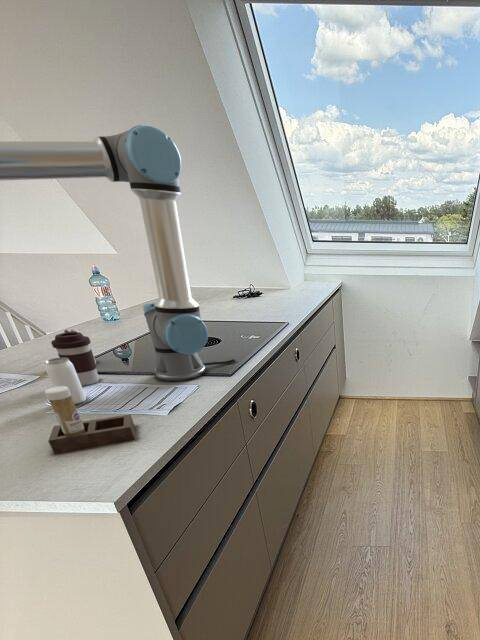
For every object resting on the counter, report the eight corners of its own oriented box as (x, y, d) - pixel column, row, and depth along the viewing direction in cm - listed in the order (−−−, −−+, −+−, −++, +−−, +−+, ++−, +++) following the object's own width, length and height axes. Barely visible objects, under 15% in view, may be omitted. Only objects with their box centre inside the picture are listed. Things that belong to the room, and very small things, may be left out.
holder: (134, 426, 116) (130, 413, 115) (135, 440, 110) (130, 427, 108) (59, 439, 110) (53, 425, 108) (54, 454, 103) (48, 440, 101)
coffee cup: (61, 385, 143) (40, 336, 135) (90, 375, 151) (72, 329, 143) (83, 389, 140) (63, 339, 132) (111, 379, 148) (94, 332, 140)
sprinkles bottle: (86, 445, 107) (63, 391, 100) (64, 447, 106) (40, 393, 99) (92, 437, 111) (71, 384, 104) (72, 439, 110) (49, 386, 103)
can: (74, 406, 128) (57, 364, 121) (55, 404, 129) (36, 363, 122) (92, 398, 133) (76, 357, 127) (73, 396, 134) (56, 356, 128)
